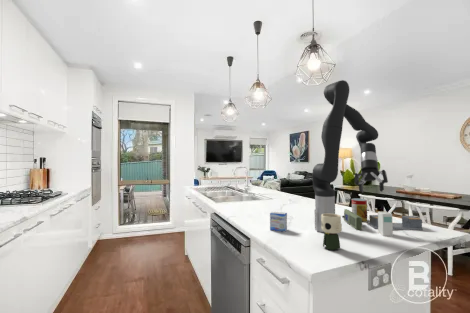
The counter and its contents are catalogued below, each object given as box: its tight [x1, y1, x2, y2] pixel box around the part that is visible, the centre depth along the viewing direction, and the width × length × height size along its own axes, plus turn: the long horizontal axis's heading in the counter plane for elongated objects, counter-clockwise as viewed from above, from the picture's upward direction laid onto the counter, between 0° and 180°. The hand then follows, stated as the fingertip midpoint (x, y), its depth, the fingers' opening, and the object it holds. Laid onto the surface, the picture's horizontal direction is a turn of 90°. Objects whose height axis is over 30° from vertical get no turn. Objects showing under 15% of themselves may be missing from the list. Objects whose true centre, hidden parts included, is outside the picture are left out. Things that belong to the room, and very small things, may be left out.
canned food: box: [351, 197, 368, 223], centre depth 136 cm, size 8×8×12 cm
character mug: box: [321, 213, 343, 251], centre depth 92 cm, size 11×7×13 cm, turn 18°
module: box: [377, 211, 394, 237], centre depth 109 cm, size 4×5×10 cm
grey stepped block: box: [366, 214, 424, 231], centre depth 121 cm, size 22×9×5 cm, turn 81°
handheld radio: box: [341, 208, 363, 231], centre depth 128 cm, size 7×3×25 cm
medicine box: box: [269, 211, 288, 232], centre depth 118 cm, size 8×4×9 cm, turn 68°
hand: (371, 191), depth 114 cm, fingers open, 8 cm apart
